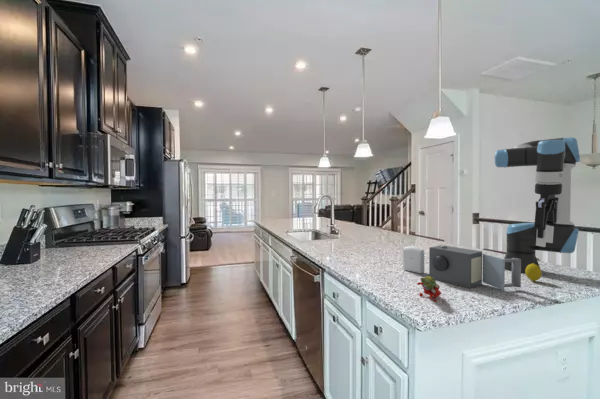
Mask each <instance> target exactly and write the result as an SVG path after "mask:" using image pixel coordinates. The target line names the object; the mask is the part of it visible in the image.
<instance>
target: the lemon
mask: <svg viewBox="0 0 600 399" xmlns="http://www.w3.org/2000/svg"><path fill="white" fill-rule="evenodd" d="M539 266H540V265H539ZM539 266H538V265H536V264H534V263H532V264H529V265H528V266H527V267H526V270H525V273H524V274H525V275H526V277H527V279H529V280H531V281H532V282H536V281H538V280H540V279H541V277H542V276H543V275H542V269H541V266H540V267H539Z"/></svg>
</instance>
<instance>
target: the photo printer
mask: <svg viewBox="0 0 600 399" xmlns="http://www.w3.org/2000/svg"><path fill="white" fill-rule="evenodd" d="M402 252H403V258H402V259H403V262H402V263H403V271H408V272H412V273H418V274H424V273H425V250H424V249H423V248H421V247H418V246H412V245H410V246H409V245H408V246H406V247H405V246H404V248H403V251H402Z"/></svg>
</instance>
